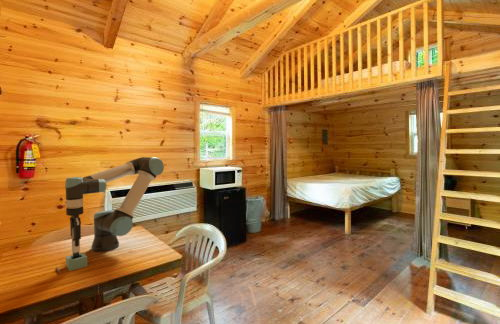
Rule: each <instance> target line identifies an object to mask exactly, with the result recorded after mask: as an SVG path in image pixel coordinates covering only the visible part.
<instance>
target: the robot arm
mask: <svg viewBox="0 0 500 324" xmlns="http://www.w3.org/2000/svg"><path fill="white" fill-rule="evenodd" d="M164 169H165V166H164V162H163V160H162V159H161V158H159V157H155V156H152V157H149V156H141V157H138V158H136V159H131V160H130V161H129V160H128V161H127V162H125V163H124V164H122V165H119V166H115V167H112V168H109V169H105V170H103V171H99V172H97V173H94V174H90V175H87V176H84V177H82V176H74V177H73V176H72V177H67V178H66V179H65V182H64V183H65V186H64V188H65V201H64V204H65V206H66V208H65V213H66V216H68V217H69V225H70V227H69V228H70V236H71V238H72V228H73V233H74V239H73V240H72V239H71V242H72V241H73V249H74V253H76V252H79V253H81V243H80V242H81V239H82V235H81V234H82V233H81V232H82V231H81V230H82V229H81V225H82V220H81V217H80V215H84V195H88V194H89V195H90V194H98V193H102V192H105V191H106V190H107V187H108V186H107V184H108V183H110V182H113V181H115V180H118V179H121V178H124V177H127V176H134V175H137V177H136V179H135V181H134V182H133V184H132V186H131V187H130V189H129V191H128V193H127V194H126V196H125V197H124V199H123V201H122V202H121V204H120V206H119V208H115V209H110V210H102V211H97V212H95V213H94V214H93V233H94V237H93V241H92V242H91V246H90V247H91V248H90V249H91V251H92V252H94V253H103V252H109V251H112V250H116V249H117V248H119V247H120V246H119V245H120V241H119V240H118V237H123V236H126V235H128V234H129V233H130V232H131V230H132V229H133V225H134V224H133V223H134V221H133V219H134V212H135V210H136V209H137V207H138V205H139V203H140V202H141V199H142V198H143V197H144V194H145V192H146V190H147V189H148V187H149V185H150V184H151V182H152V181H155V179H156V178H157V176H159V175H162V174H163V172H164Z"/></svg>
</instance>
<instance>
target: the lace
mask: <svg viewBox="0 0 500 324" xmlns="http://www.w3.org/2000/svg"><path fill="white" fill-rule="evenodd" d="M55 269H56V271H57V273H58V274H61V272H62V271H61V270H60V267H58V266H56V267H55Z"/></svg>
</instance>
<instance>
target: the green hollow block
mask: <svg viewBox="0 0 500 324" xmlns="http://www.w3.org/2000/svg"><path fill="white" fill-rule="evenodd" d="M65 265H66V268H67V270H68V271H69V272H71V271H74V270H79V269H81V268H86V267H88V256H87V255H86V254H85V253H84V252H79V258H75V259H73V254H71V255H67V256H65Z"/></svg>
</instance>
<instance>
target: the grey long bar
mask: <svg viewBox="0 0 500 324" xmlns="http://www.w3.org/2000/svg"><path fill="white" fill-rule="evenodd" d="M73 239H74V233H73V228H72V237H71V252H72V255H73V259H75V258H79V253H80V252H76V253H74V249H73V241H72V240H73Z"/></svg>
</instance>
